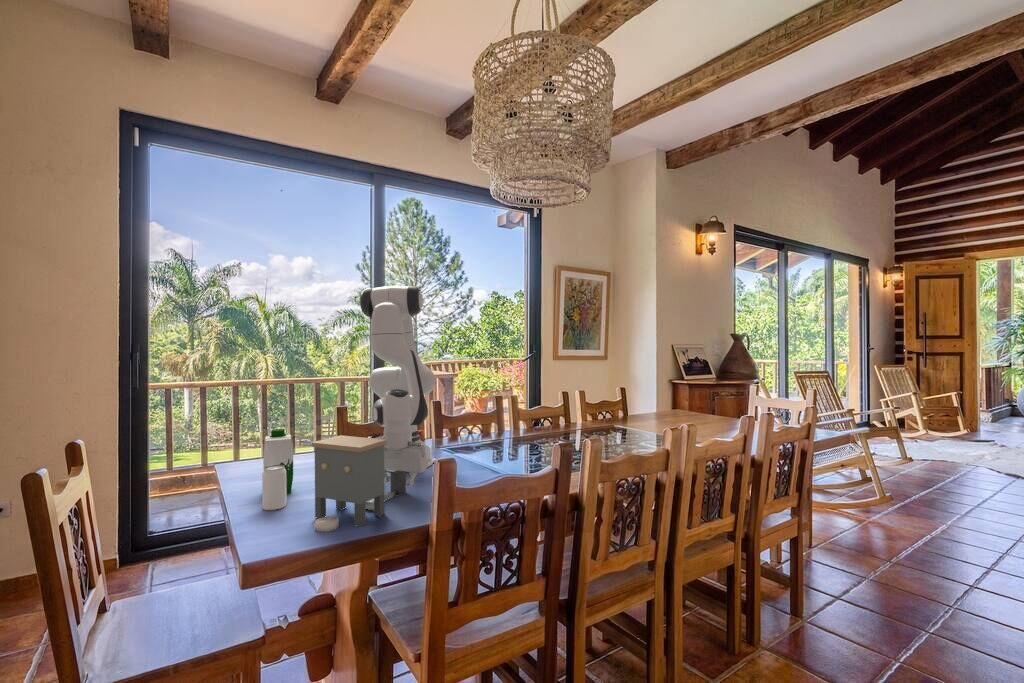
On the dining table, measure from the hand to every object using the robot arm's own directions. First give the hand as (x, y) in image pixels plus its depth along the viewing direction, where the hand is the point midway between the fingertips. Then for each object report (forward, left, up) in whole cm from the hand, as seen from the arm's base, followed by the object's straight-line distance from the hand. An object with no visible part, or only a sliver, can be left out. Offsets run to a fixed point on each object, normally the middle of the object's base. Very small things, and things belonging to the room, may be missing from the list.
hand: (398, 483), depth 161 cm
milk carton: (+14, -37, -4) cm, 40 cm away
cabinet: (+22, 0, -3) cm, 22 cm away
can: (+25, -26, -4) cm, 36 cm away
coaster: (+31, 0, -4) cm, 31 cm away
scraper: (+7, 0, -3) cm, 8 cm away
